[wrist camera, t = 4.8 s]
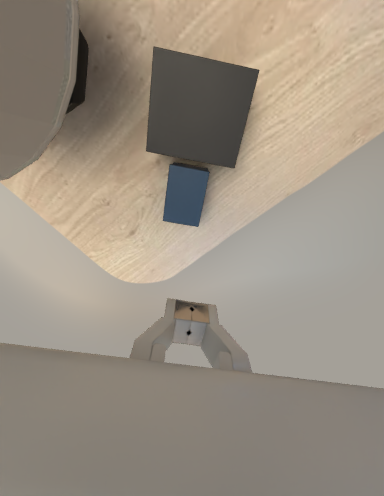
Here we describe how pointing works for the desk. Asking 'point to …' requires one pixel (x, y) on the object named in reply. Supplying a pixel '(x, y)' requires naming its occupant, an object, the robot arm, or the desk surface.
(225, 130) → the cabinet
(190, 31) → the desk surface
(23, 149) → the table lamp
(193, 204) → the box
